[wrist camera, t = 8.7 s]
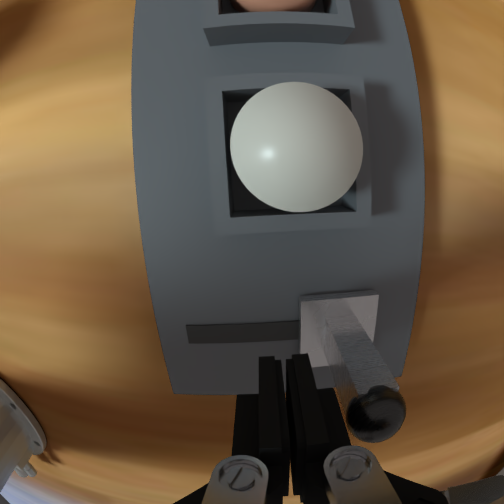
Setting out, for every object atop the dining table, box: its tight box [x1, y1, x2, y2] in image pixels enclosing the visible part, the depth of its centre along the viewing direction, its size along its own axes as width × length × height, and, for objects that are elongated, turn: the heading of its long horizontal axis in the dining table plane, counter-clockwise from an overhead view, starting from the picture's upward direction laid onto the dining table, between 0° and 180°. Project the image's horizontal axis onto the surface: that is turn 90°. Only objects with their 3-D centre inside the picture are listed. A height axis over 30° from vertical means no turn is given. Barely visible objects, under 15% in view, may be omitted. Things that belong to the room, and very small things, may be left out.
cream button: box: [230, 82, 363, 212], centre depth 9 cm, size 4×4×2 cm
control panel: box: [131, 0, 425, 395], centre depth 12 cm, size 24×13×4 cm, turn 4°
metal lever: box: [299, 290, 406, 443], centre depth 10 cm, size 4×4×7 cm
